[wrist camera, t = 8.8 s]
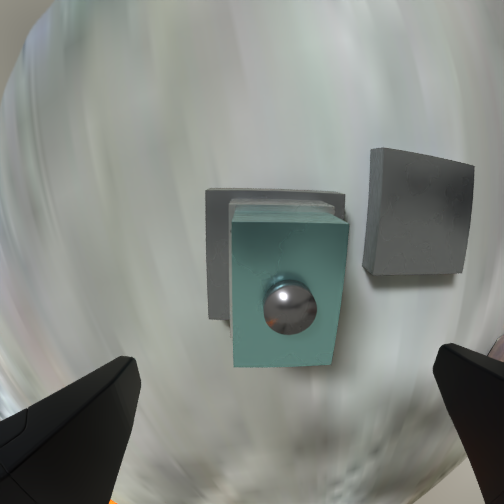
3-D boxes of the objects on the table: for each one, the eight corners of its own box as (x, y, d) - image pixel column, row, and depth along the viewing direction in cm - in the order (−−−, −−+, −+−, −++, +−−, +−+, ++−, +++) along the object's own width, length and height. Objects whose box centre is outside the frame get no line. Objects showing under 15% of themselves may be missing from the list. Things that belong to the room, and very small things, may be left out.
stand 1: (335, 191, 18) (345, 194, 16) (325, 306, 20) (332, 319, 18) (210, 188, 18) (205, 190, 16) (212, 305, 20) (208, 319, 18)
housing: (312, 312, 18) (340, 379, 12) (233, 312, 18) (225, 383, 12) (320, 200, 16) (364, 219, 10) (232, 198, 16) (220, 216, 10)
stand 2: (458, 165, 18) (474, 166, 16) (447, 265, 20) (461, 273, 18) (370, 149, 18) (383, 147, 16) (362, 265, 20) (373, 275, 18)
